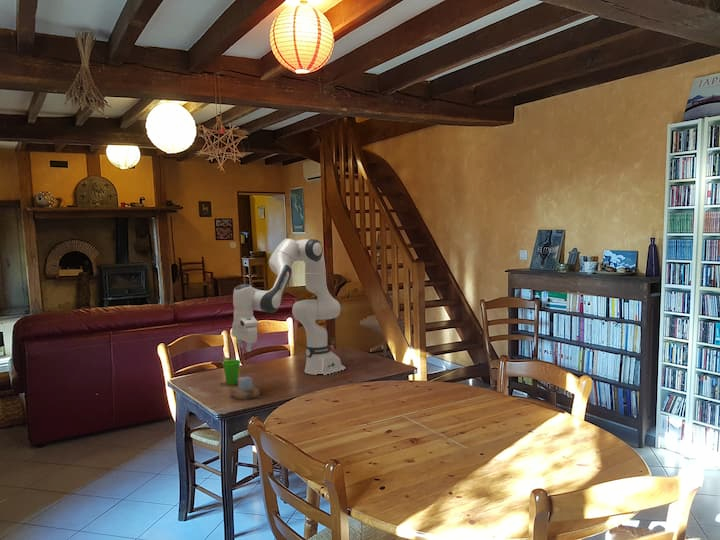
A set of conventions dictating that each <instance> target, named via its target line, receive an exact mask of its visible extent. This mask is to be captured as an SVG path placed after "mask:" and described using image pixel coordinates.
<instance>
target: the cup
mask: <svg viewBox="0 0 720 540" xmlns="http://www.w3.org/2000/svg"><path fill="white" fill-rule="evenodd" d="M241 363H242V362H241V360H239V359H227V360H224V361H222V362H221V364H222V366H223V371H224V377H225V382H226V385H227V384H228V385H227V386H235V385H238V378H239V373H240V366H241V365H240V364H241Z"/></svg>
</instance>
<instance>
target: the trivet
mask: <svg viewBox="0 0 720 540" xmlns="http://www.w3.org/2000/svg"><path fill="white" fill-rule="evenodd" d="M260 395H261V388H260V385H256V384H253V389H251V390H247V391H241V390H240V389H238V385H237V386H234V387H232V388H231V389H230V396H231V399H234V400H238V401H246V400H247V399H248V400H253V399H256V398H258V397H259V396H260ZM252 398H253V399H252ZM248 400H247V401H248Z"/></svg>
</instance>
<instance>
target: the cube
mask: <svg viewBox="0 0 720 540" xmlns="http://www.w3.org/2000/svg"><path fill="white" fill-rule="evenodd" d="M253 381H254V380H253V378H252V377H250V376H249V375H248V376H243V377H242V376H241V377H238V382H237V386H238V389H240V390H241V391H247V390H251V389H253V385H254V383H253Z"/></svg>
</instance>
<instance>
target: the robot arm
mask: <svg viewBox="0 0 720 540" xmlns="http://www.w3.org/2000/svg"><path fill="white" fill-rule="evenodd" d="M323 251H324V250H323V245H322V243H321V241H320V240H318V239H315V238H310V239H309V238H307V239H306V238H302V239H298V240H294V239H292V238H285V239H283V240H282V241H281V242H280V243H279V244H278V245H277V247H275V250H274V251H273V252H272V254H271V256H270V258H269V260H268V264H269V265H268V266H269V268H270V270H271V271H272V272H273V273H274V274H275V275H277V278H276V279H275V281H274V284H273V287H272V288H271V289H269V290H262V289H257V288H254V287H253V286H252V285H251V284H249V283H244V284H243V283H242V284H238V285H237V286H235V287H234V289H233V293H232V304H233V308H234V309H233V310H234V311H233V321H232V325H231V333H232V334H231V335H232V337H234V338H236V343H237V347H238V348H240V349H241V348H243V347H244V346H243V342H245V343H246V347H245V349H246V352H248V353H249V352H251V351H252V346H253V344H256V343H257V341H258V328H257V326H258V325H259V323H258V320H257V319H256V318H255V316H254V311H259V312H265V313H269V314H273V313H275V312H277V311H278V310H279V309H280V307H281V306H282V305H281V304H282V301H283V296H284V294H285V292H286V289H287V287H288V284H289V282H290V280H291V278H292V277H291V276H292V272H293V271H292V265H293V264H294V262H298V261H299V262H304V264H305V265H304V274H305V275H304V281H305V282H304V283H305V284H304V285H305V289H306V290H307V291H308V292H309V293H312V294H315V295H316V297H317V298H316V299H302V300H298V301H295V302H294V304H293V305H292V308H291V311H292V312H291V313H292V316H293V317H294V319H295V320H297V321H298V322H299V323H300V324H301V325H302V326H303V328H304V330H305V335H306V345H305V355H306V360H305V361H306V362H305V368H304V370H303V372H304V373H305V374H308V375H313V376H314V375H315V376H316V375H317V374H323V375H322V376H328V375H327V374H329V375H331V373H332V374H335V373H338V371H339V372H341V370H342V371H344V369H345V370H346V366H344V365H343V364H342V361H341V358H340V357H339V356H338V355H336V354H335V353H334V352H333V351H331V350H334V349H335V346H334V345H329V344H328V330H327V329H326V328H325V327H324V326H321V325H319V324H317V322H316V321H320V320H322V321H324V320H331V319H336V318H338V317H339V315H340V314H341V310H342V309H341V304H340V302H339V301H338V299H335V298H334V297H333V296H332V295H331V293H330V292H329V289H328V285H327V273H326V272H327V270H326V263H325V262H326V261H325V258H324V256H323V253H324V252H323ZM242 341H243V342H242ZM334 372H335V373H334Z"/></svg>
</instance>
